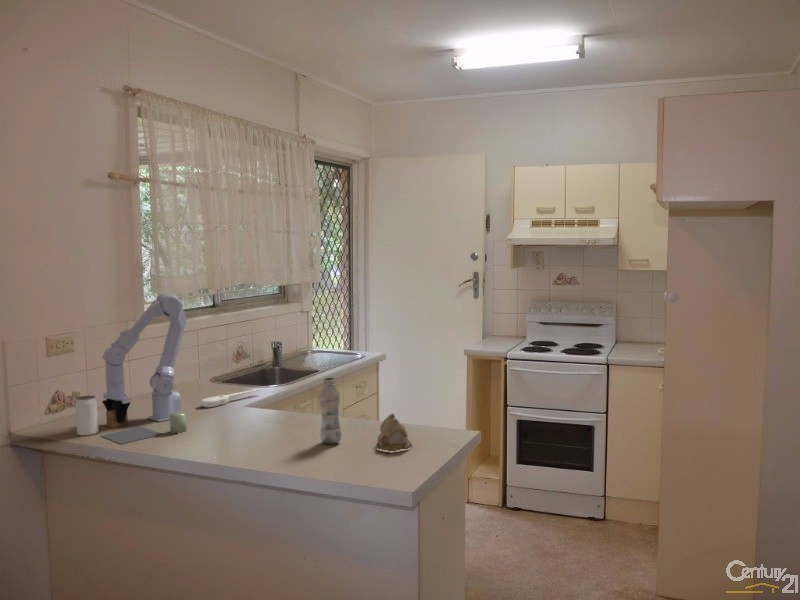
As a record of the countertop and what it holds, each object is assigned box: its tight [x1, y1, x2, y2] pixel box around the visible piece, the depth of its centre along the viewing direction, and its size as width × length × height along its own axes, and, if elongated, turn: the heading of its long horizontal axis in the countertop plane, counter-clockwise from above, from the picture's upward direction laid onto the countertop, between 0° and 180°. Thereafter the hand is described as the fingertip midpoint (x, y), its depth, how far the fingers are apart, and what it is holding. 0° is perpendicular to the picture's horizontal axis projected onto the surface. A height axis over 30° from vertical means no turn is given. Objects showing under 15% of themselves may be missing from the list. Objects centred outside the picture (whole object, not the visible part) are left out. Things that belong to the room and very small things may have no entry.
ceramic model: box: [375, 413, 413, 451], centre depth 207 cm, size 14×11×10 cm
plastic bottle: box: [319, 377, 342, 445], centre depth 210 cm, size 6×7×20 cm
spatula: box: [200, 387, 263, 408], centre depth 268 cm, size 28×6×3 cm, turn 140°
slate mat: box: [100, 426, 163, 445], centre depth 223 cm, size 14×14×1 cm
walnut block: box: [105, 410, 129, 429], centre depth 236 cm, size 5×5×5 cm
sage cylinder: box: [169, 411, 187, 434], centre depth 226 cm, size 5×5×6 cm
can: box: [74, 395, 99, 437], centre depth 226 cm, size 6×6×12 cm
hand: (117, 421), depth 236 cm, fingers closed on walnut block, 5 cm apart
